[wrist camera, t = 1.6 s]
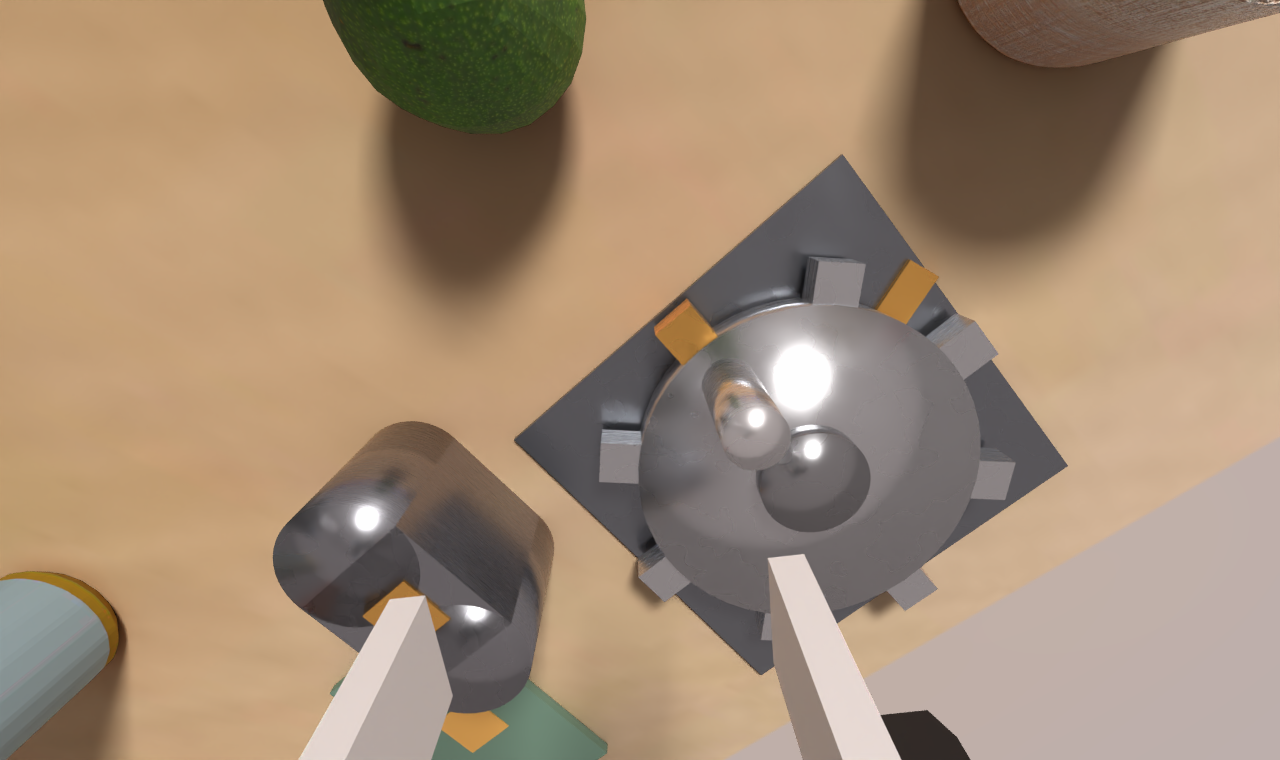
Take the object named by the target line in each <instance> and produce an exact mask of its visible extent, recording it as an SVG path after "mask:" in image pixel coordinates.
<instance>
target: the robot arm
mask: <svg viewBox="0 0 1280 760" xmlns="http://www.w3.org/2000/svg"><path fill="white" fill-rule="evenodd" d="M768 573H769V591H770V609H771V628H772V646H773V662H774V666H775V669H776V672H777V676H778V679H779V682H780V686H781V689H782V692H783V695H784V699H785V702H786V705H787V709H788V712H789V715H790V719H791V722H792V725H793V728H794V732H795V735H796V738H797V742H798V745H799V748H800V751H801V755H802V758H803V760H970V758H969V757H968V755H967V753H966V752H965V750H964V748H963V747H962V745H961V743H960V742H959V740H958V738H957V737H956V736H955V735H954V734H952V732H951V731H950V730H948V729H947V728H946V727H945V726H944V725H943V724H942V723H941V722H940V721H939V720H937V719H936V718H935V717H934V716H933V715H932V714H931V713H930V712H929V711H928V710H926V711H915V712H907V713H897V714H887V715H880V714H879V712H878V709H877V707H876V705H875V703H874V701H873V699H872V697H871V695H870V693H869V690H868V688H867V686H866V684H865V682H864V680H863V678H862V676H861V673H860V671H859V669H858V667H857V665H856V663H855V661H854V659H853V657H852V654H851V652H850V650H849V648H848V646H847V644H846V642H845V640H844V638H843V635H842V633H841V631H840V629H839V627H838V625H837V623H836V621H835V618H834V616H833V614H832V612H831V610H830V608H829V606H828V604H827V602H826V599H825V597H824V595H823V593H822V591H821V589H820V587H819V585H818V583H817V580H816V578H815V576H814V574H813V572H812V570H811V568H810V566H809V564H808V561H807V559H806V557H805V555H804V554H800V555H791V556H782V557H773V558H768ZM452 697H453V695H452V691H451V688H450V684H449V680H448V677H447V673H446V669H445V666H444V662H443V658H442V655H441V651H440V647H439V644H438V640H437V636H436V633H435V629H434V625H433V622H432V618H431V615H430V611H429V607H428V604H427V600H426V596H425V595H424V596H415V597H406V598H397V599H390V600H389V601H388V603H387V605H386V607H385V608H384V610H383V612H382V614H381V616H380V617H379V619H378V621H377V623H376V624H375V626H374V628H373V630H372V631H371V633H370V635H369V637H368V638H367V640H366V642H365V644H364V645H363V647H362V649H361V651H360V652H359V654H358V656H357V658H356V660H355V661H354V663H353V665H352V667H351V668H350V670H349V672H348V674H347V675H346V677H345V679H344V681H343V682H342V684H341V686H340V688H339V689H338V691H337V693H336V695H335V696H334V698H333V700H332V702H331V704H330V705H329V707H328V709H327V711H326V712H325V714H324V716H323V718H322V719H321V721H320V723H319V725H318V726H317V728H316V730H315V732H314V733H313V735H312V737H311V739H310V740H309V742H308V744H307V746H306V747H305V749H304V751H303V753H302V755H301V756H300V758H299V760H431V759H432V756H433V753H434V750H435V747H436V744H437V741H438V738H439V735H440V732H441V729H442V726H443V723H444V720H445V718H446V715H447V712H448V709H449V706H450V703H451V700H452Z"/></svg>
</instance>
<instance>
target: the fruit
mask: <svg viewBox="0 0 1280 760" xmlns="http://www.w3.org/2000/svg"><path fill="white" fill-rule="evenodd" d="M323 2H324V5H325V7H326V10H327V12H328V14H329V17H330V19H331V21H332V24H333V26H334V28H335V30H336V31H337V33H338V35H339V37H340V39H341V41H342V42H343V44H344V46H345V48H346V50H347V52H348V53H349V55H350V57H351V59H352V61H353V62H354V64H355V65H356V66H357V67H358V68H359V70H360V71H361V72H362V73H363V75H364V76H365V77H366V78H367V79H368V81H369V82H370V83H371V84H372V86H373V87H374V88H375V89H376V90H377V91H378V92H379V93H381V94H382V95H384V96H385V97H386V98H388V99H389V100H391V101H392V102H393V103H395V104H396V105H398V106H399V107H400V108H402V109H404V110H406V111H408V112H410V113H412V114H414V115H416V116H417V117H420V118H422V119H425V120H427V121H430V122H432V123H435V124H438V125H440V126H443V127H446V128H450V129H454V130H458V131H462V132H466V133H470V134H502V133H505V132H508V131H511V130H514V129H517V128H520V127H523V126H526V125H530V124H531V123H533V122H534V121H535V120H536V119H538V118H539V117H540V116H541V115H543V114H544V113H545V112H547V111H548V110H549V109H550V108H552V107H553V106H554V105H555V103H556V102H557V101H558V100H559V98H560V97H561V96H562V94H563V93H564V92H565V90H566V89H567V88H568V86H569V85H570V84H571V82H572V80H573V77H574V74H575V71H576V68H577V66H578V63H579V60H580V57H581V54H582V48H583V40H584V32H585V24H586V13H585V4H584V0H323Z"/></svg>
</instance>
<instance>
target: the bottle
mask: <svg viewBox="0 0 1280 760" xmlns="http://www.w3.org/2000/svg"><path fill="white" fill-rule="evenodd" d="M118 641H119V636H118V623H117V617H116V615H115V614H114V612H113V610H112V608H111V606H110V604H109V603H108V602H107V601H106V600H105V599H104V598H103V597H102V595H101V594H100V593H99V592H98V591H96V590H95V589H93V588H92V587H90V586H89V585H87V584H86V583H84V582H83V581H81V580H78V579H75V578H72V577H70V576H67V575H65V574H59V573H51V572H35V571H27V572H20V573H13V574H9V575H7V576H5V577H3V578H1V579H0V760H6V759H7V758H8V757H10V756H11V755H12V754H13V753H14V752H15V751H16V750H17V749H18V748H19V747H20V746H21V745H22V744H23V743H25V742H26V741H27V740H28V739H29V738H30V737H31V736H32V735H33V734H34V733H35V732H36V731H37V730H38V729H40V728H41V727H42V726H43V725H44V724H45V723H46V722H47V721H48V720H49V719H50V718H51V717H52V716H54V715H55V714H56V713H57V712H58V711H59V710H60V709H61V708H62V707H63V706H64V705H65V704H66V703H67V702H69V701H70V700H71V699H72V698H73V697H74V696H75V695H76V694H77V693H78V692H79V691H80V690H81V689H82V688H84V687H85V686H86V685H87V684H88V683H89V682H90V681H91V680H92V679H93V678H94V677H95V676H96V675H97V674H98V673H99V672H100V671H101V670H102V669H103V668H104V667H105V666H106V665H107V664H108V663H109V662H110V661H111V660H112V659H113V657H114V656H115V653H116V650H117V647H118Z"/></svg>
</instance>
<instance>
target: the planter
mask: <svg viewBox="0 0 1280 760" xmlns="http://www.w3.org/2000/svg"><path fill="white" fill-rule="evenodd" d="M957 2H958V4H959V6H960V8H961V10H962V12H963V13H964V15H965V17H966V18H967V20H968V22H969V23H970V24H971V26H972V27H973V28H974V30H975V31H976V32H977V33H978V34H979V35H980V36H981V37H982V38H983V39H984V40H985V41H986V42H987V43H988V44H990V45H991V46H992V47H993V48H995V49H996V50H997V51H999V52H1001V53H1002V54H1004V55H1006V56H1008V57H1010V58H1012V59H1014V60H1017V61H1020V62H1023V63H1026V64H1030V65H1034V66H1040V67H1075V66H1083V65H1088V64H1093V63H1097V62H1101V61H1105V60H1109V59H1112V58H1116V57H1120V56H1123V55H1127V54H1130V53H1134V52H1138V51H1141V50H1145V49H1149V48H1152V47H1156V46H1159V45H1163V44H1166V43H1170V42H1173V41H1177V40H1181V39H1184V38H1188V37H1191V36H1195V35H1199V34H1202V33H1206V32H1210V31H1213V30H1217V29H1221V28H1224V27H1228V26H1232V25H1236V24H1239V23H1243V22H1247V21H1251V20H1254V19H1258V18H1262V17H1266V16H1270V15H1273V14H1277V13H1280V0H957Z"/></svg>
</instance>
